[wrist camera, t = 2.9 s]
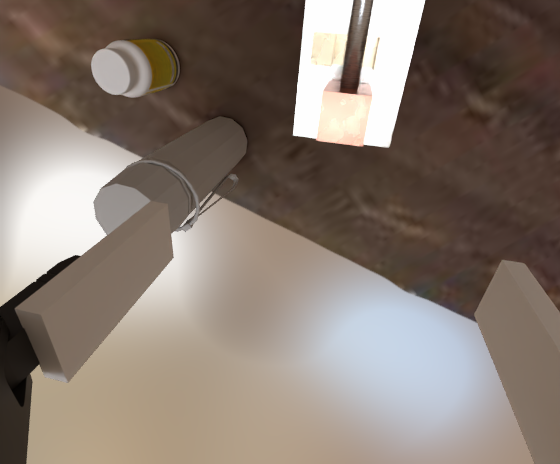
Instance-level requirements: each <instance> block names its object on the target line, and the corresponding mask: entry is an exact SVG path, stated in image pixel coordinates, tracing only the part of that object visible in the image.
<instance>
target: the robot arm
mask: <svg viewBox="0 0 560 464" xmlns="http://www.w3.org/2000/svg"><path fill="white" fill-rule="evenodd" d="M172 258H173V249H172V239H171V229H170V220H169V210H168V204H166V203H160V202H154V201H150V202H149V203H148V204H146V205H145V206H144V207H143V208H141V209H140V210H139V211H138V212H136V213H135V214H134V215H132V216H131V217H130V218H129V219H127V220H126V221H125V222H124V223H122V224H121V225H120V226H119V227H117V228H116V229H115V230H113V231H112V232H111V233H110V234H108V235H107V236H106V237H105V238H103V239H102V240H101V241H100V242H98V243H97V244H96V245H94V246H93V247H92V248H91V249H89V250H88V251H87V252H86V253H84V254H83V255H82V256H78V255H75V256H73V257H70V258H68V259H66V260H64V261H61V262H60V263H58V264H57V265H55V266H54V267H53V268H51V269H50V270H49V271H47V274H43V275H42V276H41V277H39V278H38V279H37V280H36V282H33V283H31V284H30V285H29V286H27V287H26V288H25V289H24V290H22V291H21V292H19V293H18V294H17V295H16V296H14V297H13V298H12V299H10V300H9V301H8V302H6V303H5V304H4V305H2V306H1V307H0V464H26V458H27V445H28V431H29V419H30V406H31V392H32V379H31V375H30V373H31V372H32V371H33V370H34V369H35V368H36V367H37V366H38V365H40V367H41V369H42V372H43V374H44V376H45V377H47V378H50V379H55V380H58V381H63V382H66V383H68V382H69V381H70V380H71V379H72V377H73V376H74V375H75V374H76V373H77V371H78V370H79V369H80V368H81V366H83V364H84V363H85V362H86V361H87V360H88V358H89V357H90V356H91V355H92V354H93V352H94V351H95V350H96V349H97V348H98V347H99V345H100V344H101V343H102V341H104V339H105V338H106V337H107V336H108V335H109V334H110V332H111V331H112V330H113V329H114V328H115V326H116V325H117V324H118V323H119V322H120V320H121V319H122V318H123V317H124V316H125V315H126V313H127V312H128V311H129V310H130V308H131V307H132V306H133V305H134V304H135V303H136V301H137V300H138V299H139V298H140V297H141V296H142V294H143V293H144V292H145V291H146V289H147V288H148V287H149V286H150V285H151V284H152V282H153V281H154V280H155V279H156V278H157V277H158V275H159V274H160V273H161V272H162V271H163V269H164V268H165V267H166V266H167V265H168V263H169V262H170V261H171V260H172ZM474 316H475V318H476V321H477V323H478V325H479V328H480V330H481V333H482V335H483V338H484V340H485V343H486V345H487V347H488V350H489V353H490V355H491V358H492V360H493V362H494V365H495V367H496V370H497V372H498V374H499V377H500V380H501V382H502V385H503V387H504V389H505V391H506V395H507V397H508V399H509V402H510V404H511V407H512V409H513V412H514V414H515V416H516V419H517V422H518V424H519V427H520V429H521V431H522V434H523V436H524V439H525V441H526V444H527V446H528V449H529V451H530V453H531V456H532V458H533V461H534V464H560V312H559V311H558V310H557V308H556V307H555V305H554V304H553V303H552V301H551V300H550V298H549V297H548V296H547V294H546V293H545V291H544V290H543V289H542V287H541V286H540V284H539V283H538V282H537V280H536V279H535V277H534V276H533V275H532V273H531V272H530V270H529V269H528V268H527V266H526V265H525V264H524V263H518V262H512V261H506V260H502V261H501V263H500V265H499V267H498V269H497V271H496V273H495V275H494V277H493V279H492V281H491V283H490V284H489V286H488V288H487V290H486V292H485V294H484V296H483V298H482V300H481V302H480V304H479V306H478V308H477V310H476V312H475V314H474Z"/></svg>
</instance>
